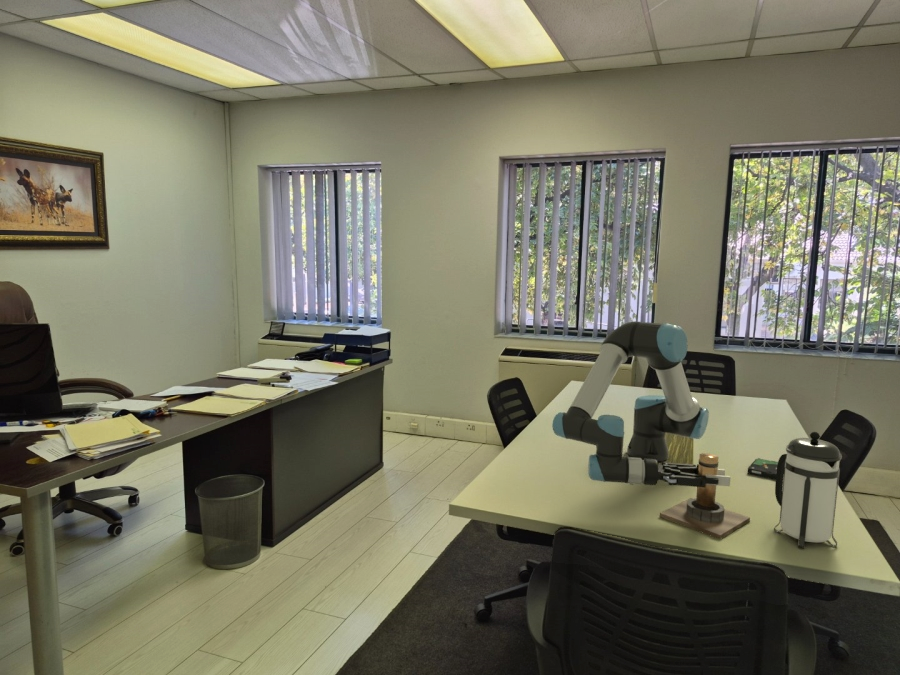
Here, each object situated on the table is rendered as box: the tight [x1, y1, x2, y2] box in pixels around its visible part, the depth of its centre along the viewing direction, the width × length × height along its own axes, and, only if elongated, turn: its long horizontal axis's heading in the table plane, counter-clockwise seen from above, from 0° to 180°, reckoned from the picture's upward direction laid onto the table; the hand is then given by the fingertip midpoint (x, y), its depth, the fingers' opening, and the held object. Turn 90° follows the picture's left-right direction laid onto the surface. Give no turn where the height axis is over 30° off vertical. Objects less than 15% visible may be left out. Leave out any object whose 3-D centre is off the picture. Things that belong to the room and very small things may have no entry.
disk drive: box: [747, 457, 785, 481], centre depth 215 cm, size 10×3×15 cm
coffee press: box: [773, 431, 843, 550], centre depth 162 cm, size 17×16×30 cm
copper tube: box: [695, 452, 719, 506], centre depth 173 cm, size 5×5×14 cm
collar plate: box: [659, 497, 751, 540], centre depth 174 cm, size 18×18×4 cm
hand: (726, 477), depth 172 cm, fingers closed on copper tube, 5 cm apart
